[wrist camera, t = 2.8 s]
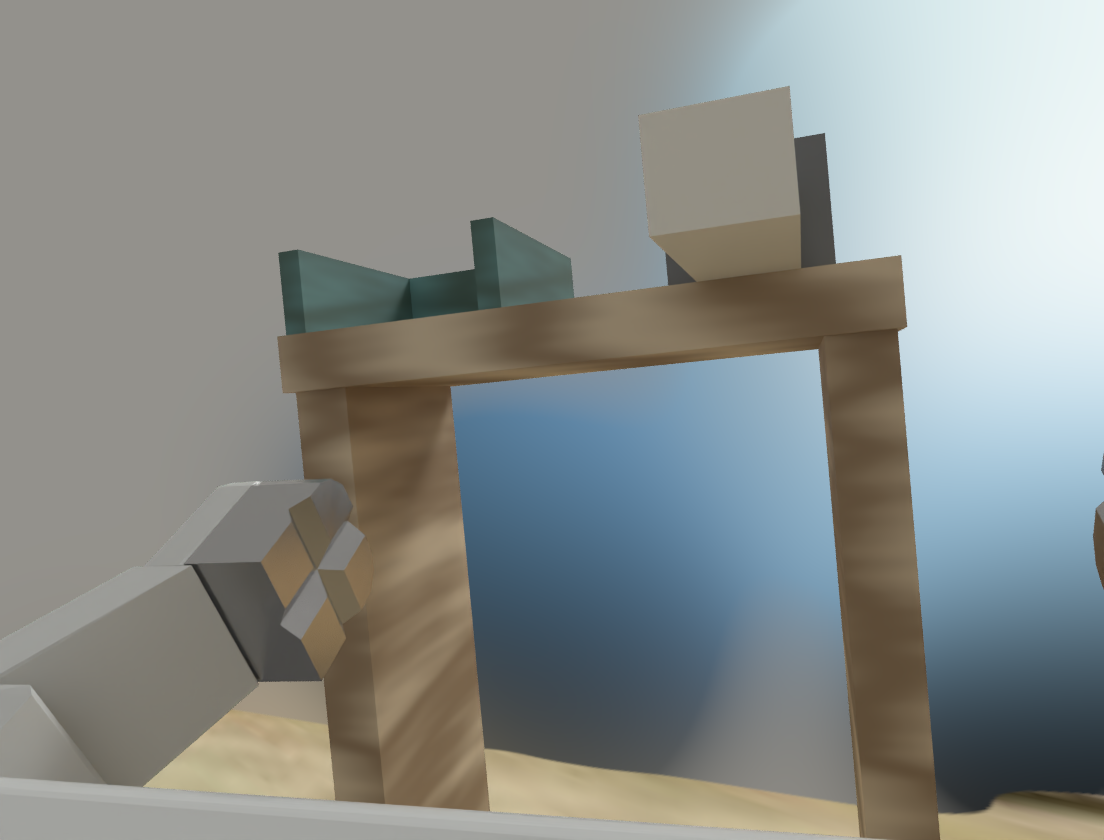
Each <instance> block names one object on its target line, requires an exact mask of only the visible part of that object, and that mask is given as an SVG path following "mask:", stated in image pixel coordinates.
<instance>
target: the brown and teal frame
mask: <svg viewBox="0 0 1104 840" xmlns="http://www.w3.org/2000/svg"><path fill="white" fill-rule="evenodd" d="M470 222H471V232H472V243H473V255H474V264H475V265H474V266H475V269H473V270H466V271H460V272H453V273H446V274H439V275H433V276H426V277H419V278H413V279H408V278H404V277H400V276H396V275H393V274H389V273H385V272H381V271H377V270H374V269H370V268H366V267H362V266H358V265H355V264H350V263H347V262H343V261H339V260H335V259H331V258H328V257H324V256H320V255H316V254H313V253H309V252H305V251H301V250H292V251H287V252H280V253H279V263H280V274H281V284H282V295H283V304H284V315H285V326H286V336H279V337H278V347H279V358H280V369H281V379H282V389H283V393H296V396H297V407H298V417H299V428H300V438H301V449H302V459H303V469H304V480H309V479H333V480H335V481H337V482H339V483H341V484H342V485H343V486H344V488H345V490H346V492H347V494H348V496H349V499H350V501H351V503H352V505H353V509H352V512H351V515H350V518H349V520H348V521H349V522H350V523H351V524H352V525H353V526H355V527H356V528H357V529H358V530H359V531H361V532H362V533H363V534H364V535H365V536H366V538H367V541H368V543H369V546H370V548H371V551H372V557H373V563H374V575H373V582H372V588H371V593H370V595H369V597H368V599H367V601H366V603H365V605H364V606H363V608H362V610H361V611H360V612H358V613H357V614H356V615H354V616H353V617H352V618H350V619H349V620H347V621H346V622H345V623H343V628H344V632H345V636H346V639H345V641H344V643H343V644H342V646H341V648H340V650H339V651H338V653H337V655H336V657H335V659H334V660H333V662H332V664H331V666H330V667H329V669H328V671H327V673H326V674H325V676H324V686H325V697H326V707H327V717H328V728H329V738H330V748H331V759H332V769H333V779H334V790H335V800H336V801H348V802H362V803H376V804H391V805H405V806H419V807H433V808H448V809H462V810H476V811H490V806H489V795H488V785H487V774H486V763H485V753H484V742H483V731H482V720H481V710H480V699H479V688H478V678H477V667H476V656H475V645H474V636H473V624H472V613H471V603H470V592H469V581H468V570H467V560H466V550H465V539H464V528H463V518H462V506H461V496H460V485H459V474H458V463H457V453H456V442H455V431H454V421H453V410H452V399H451V388H450V386H460V385H470V384H480V383H490V382H499V381H509V380H519V379H529V378H539V377H547V376H558V375H567V374H577V373H587V372H597V371H607V370H616V369H627V368H636V367H645V366H655V365H666V364H675V363H685V362H695V361H704V360H714V359H725V358H734V357H744V356H754V355H763V354H774V353H783V352H792V351H803V350H813V349H819V361H820V372H821V384H822V396H823V407H824V419H825V431H826V443H827V454H828V466H829V477H830V490H831V501H832V513H833V524H834V536H835V547H836V560H837V572H838V583H839V595H840V607H841V619H842V631H843V642H844V654H845V664H846V665H845V666H846V677H847V689H848V701H849V713H850V725H851V736H852V747H853V759H854V772H855V783H856V795H857V807H858V819H859V830H860V838H873V839H887V840H940V833H939V821H938V809H937V798H936V785H935V773H934V761H933V750H932V737H931V725H930V714H929V702H928V689H927V677H926V665H925V653H924V642H923V629H922V617H921V605H920V593H919V581H918V569H917V557H916V545H915V534H914V521H913V510H912V497H911V486H910V474H909V461H908V450H907V437H906V425H905V413H904V402H903V390H902V377H901V365H900V353H899V341H898V331H900V330H901V329H904V328H905V327H907V320H906V307H905V296H904V283H903V271H902V261H901V255H899V256H892V257H884V258H877V259H869V260H861V261H853V262H846V263H838V264H830V265H823V266H815V267H807V268H800V269H792V270H784V271H777V272H769V273H761V274H754V275H746V276H738V277H731V278H723V279H715V280H708V281H700V282H692V283H685V284H677V285H669V286H662V287H655V288H647V289H639V290H632V291H624V292H616V293H608V294H601V295H593V296H586V297H577V298H574V292H573V280H572V269H571V259H570V258H568V257H567V256H565V255H563V254H561V253H559V252H557V251H555V250H553V249H551V248H550V247H548V246H546V245H544V244H542V243H540V242H538V241H537V240H535V239H533V238H531V237H529V236H527V235H525V234H523V233H522V232H519V231H518V230H516V229H514V228H512V227H510V226H508V225H506V224H505V223H503V222H501V221H499V220H497V219H495V218H493V217H492V218H486V219H480V220H474V221H470Z"/></svg>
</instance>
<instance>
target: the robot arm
mask: <svg viewBox="0 0 1104 840" xmlns="http://www.w3.org/2000/svg"><path fill="white" fill-rule="evenodd" d="M1101 471H1102V473H1103V475H1104V456H1103V462H1102V468H1101ZM352 509H353V505H352V503H351V501H350V499H349V496H348V494H347V492H346V490H345V488H344V486H343V485H342V484H341V483H339V482H337V481H335V480H333V479H309V480H282V481H263V482H258V481H254V482H240V483H230V484H226V485H223V486H219V487H217V488H216V489H215V491H213V492H212V494H211V495H210V496H209V497H208V498H207V499H206V500H205V501H204V502H203V503H202V504H201V505H200V507H199V508H198V509H197V510H196V511H195V512H194V513H193V514H192V515H191V516H190V517H189V518H188V519H187V521H186V522H185V523H184V524H183V525H182V526H181V527H180V528H179V529H178V530H177V531H176V532H175V533H174V534H173V536H172V537H171V538H170V539H169V540H168V541H167V542H166V543H165V544H164V545H163V546H162V547H161V548H160V550H159V551H158V552H157V553H156V554H155V555H154V556H153V557H152V558H151V559H150V560H149V562H148V563H147V564H146V565H145V566H140V567H132V568H130V569H128V570H127V571H125V572H123V573H121V574H119V575H117V576H116V577H114V578H112V579H111V580H108V581H107V582H105V583H103V584H101V585H99V586H97V587H96V588H94V589H92V590H90V591H88V592H87V593H85V594H83V595H81V596H79V597H77V598H76V599H74V600H72V601H70V602H69V603H67V604H65V605H63V606H61V607H59V608H58V609H56V610H54V611H52V612H50V613H48V614H47V615H45V616H43V617H41V618H39V619H37V620H36V621H34V622H32V623H31V624H28V625H26V626H25V627H23V628H21V629H19V630H17V631H16V632H14V633H12V634H10V635H8V636H7V637H5V638H3V639H1V640H0V840H887V839H873V838H859V837H845V836H831V835H817V834H802V833H788V832H774V831H760V830H746V829H732V828H718V827H703V826H689V825H675V824H661V823H647V822H632V821H618V820H604V819H590V818H576V817H561V816H547V815H533V814H519V813H504V812H490V811H476V810H462V809H448V808H433V807H419V806H405V805H391V804H376V803H362V802H348V801H334V800H320V799H305V798H291V797H277V796H263V795H249V794H234V793H220V792H206V791H192V790H177V789H163V788H149V787H143V786H144V785H145V784H146V783H147V782H149V781H150V780H151V779H152V778H153V777H154V776H155V775H157V774H158V773H159V772H160V771H161V770H162V769H163V768H165V767H166V766H167V765H168V764H169V763H170V762H172V761H173V760H174V759H175V758H176V757H177V756H178V755H180V754H181V753H182V752H183V751H184V750H185V749H186V748H188V747H189V746H190V745H191V744H192V743H193V742H194V741H196V740H197V739H198V738H199V737H200V736H201V735H203V734H204V733H205V732H206V731H207V730H208V729H209V728H211V727H212V726H213V725H214V724H215V723H216V722H217V721H219V720H220V719H221V718H222V717H223V716H224V715H225V714H227V713H228V712H229V711H230V710H231V709H232V708H234V706H236V705H237V704H238V703H239V702H240V701H241V700H243V699H244V698H245V697H246V696H247V695H248V694H250V693H251V692H252V691H253V690H254V689H255V688H256V687H258V685H259V683H258V682H268V681H269V682H272V681H273V682H274V681H275V682H276V681H278V682H279V681H322V680H323V678H324V676H325V674H326V673H327V671H328V669H329V667H330V666H331V664H332V662H333V660H334V659H335V657H336V655H337V653H338V651H339V650H340V648H341V646H342V644H343V643H344V641H345V639H346V636H345V632H344V628H343V623H345V622H346V621H347V620H349V619H350V618H352V617H353V616H354V615H356V614H357V613H358V612H360V611H361V610H362V608H363V606H364V605H365V603H366V601H367V599H368V597H369V595H370V593H371V588H372V582H373V575H374V563H373V557H372V551H371V548H370V546H369V543H368V541H367V538H366V536H365V535H364V534H363V533H362V532H361V531H359V530H358V529H357V528H356V527H355V526H353V525H352V524H351V523H350V522H349V521H348V520H349V518H350V515H351V512H352ZM1093 540H1094V550H1095V561H1096V566H1097V570H1098V573H1099V577H1100V580H1101V583H1102V586H1103V589H1104V502H1102V503H1101V504H1100V505H1099V506H1098V507H1097V508H1096V513H1095V523H1094V533H1093Z"/></svg>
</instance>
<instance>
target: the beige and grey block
mask: <svg viewBox="0 0 1104 840" xmlns="http://www.w3.org/2000/svg"><path fill="white" fill-rule="evenodd" d="M791 111H792V110H791V99H790V87H789V86H787V87H782V88H776V89H771V90H766V91H761V92H756V93H751V94H746V95H741V96H735V97H730V98H725V99H720V100H715V101H709V102H704V103H699V104H694V105H689V106H684V107H678V108H673V109H669V110H663V111H658V112H653V113H648V114H643V115H638V117H639V128H640V140H641V151H642V161H643V173H644V185H645V196H646V207H647V219H648V230H649V237H650V238H651V239H652V240H653V241H654V242H655V243H656V244H657V245H658V246H660V247H661V248H662V249H663V250H664V251H665V253H666V264H667V275H668V286H669V285H677V284H685V283H692V282H700V281H708V280H715V279H723V278H731V277H738V276H746V275H754V274H761V273H769V272H777V271H784V270H792V269H800V268H807V267H815V266H823V265H830V264H836V260H835V249H834V236H833V225H832V214H831V201H830V189H829V177H828V165H827V153H826V142H825V133H823V134H817V135H812V136H806V137H800V138H794V134H793V123H792V112H791Z"/></svg>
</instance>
